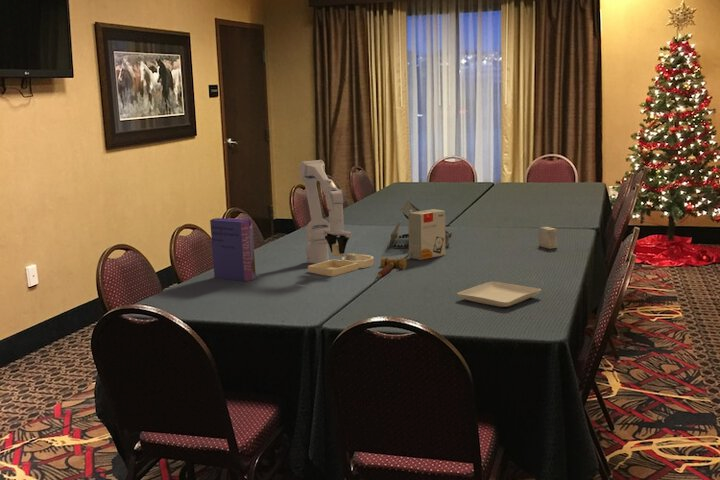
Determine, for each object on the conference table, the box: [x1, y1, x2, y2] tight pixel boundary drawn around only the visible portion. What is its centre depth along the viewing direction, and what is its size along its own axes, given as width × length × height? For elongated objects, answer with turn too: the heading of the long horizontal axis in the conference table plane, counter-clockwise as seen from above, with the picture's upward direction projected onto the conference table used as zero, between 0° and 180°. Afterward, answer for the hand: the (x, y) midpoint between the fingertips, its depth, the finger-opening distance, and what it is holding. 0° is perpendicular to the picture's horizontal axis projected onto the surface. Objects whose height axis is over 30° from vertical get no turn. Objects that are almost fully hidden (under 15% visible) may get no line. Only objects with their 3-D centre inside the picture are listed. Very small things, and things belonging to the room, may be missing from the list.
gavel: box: [376, 257, 408, 279], centre depth 316 cm, size 21×5×10 cm
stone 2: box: [345, 252, 357, 261], centre depth 328 cm, size 4×4×4 cm
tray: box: [307, 259, 359, 277], centre depth 320 cm, size 14×15×3 cm
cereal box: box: [209, 217, 257, 283], centre depth 313 cm, size 17×5×24 cm, turn 59°
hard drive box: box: [408, 208, 446, 261], centre depth 341 cm, size 16×8×20 cm, turn 129°
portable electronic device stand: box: [389, 200, 452, 250], centre depth 374 cm, size 33×28×18 cm
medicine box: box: [538, 226, 558, 250], centre depth 351 cm, size 8×4×9 cm, turn 22°
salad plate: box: [457, 281, 542, 308], centre depth 270 cm, size 21×21×3 cm
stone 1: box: [331, 242, 344, 257], centre depth 321 cm, size 4×4×4 cm
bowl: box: [341, 254, 375, 269], centre depth 329 cm, size 13×13×4 cm
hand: (337, 252), depth 321 cm, fingers closed on stone 1, 4 cm apart
